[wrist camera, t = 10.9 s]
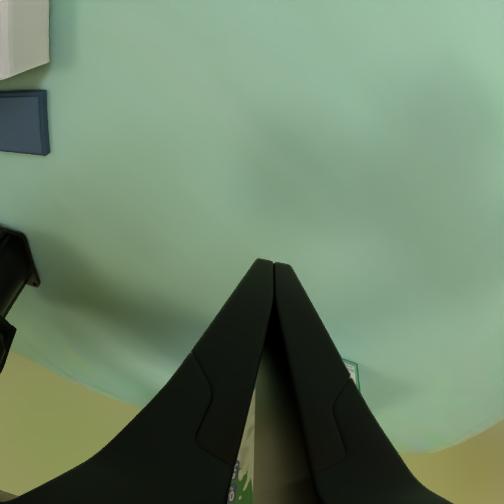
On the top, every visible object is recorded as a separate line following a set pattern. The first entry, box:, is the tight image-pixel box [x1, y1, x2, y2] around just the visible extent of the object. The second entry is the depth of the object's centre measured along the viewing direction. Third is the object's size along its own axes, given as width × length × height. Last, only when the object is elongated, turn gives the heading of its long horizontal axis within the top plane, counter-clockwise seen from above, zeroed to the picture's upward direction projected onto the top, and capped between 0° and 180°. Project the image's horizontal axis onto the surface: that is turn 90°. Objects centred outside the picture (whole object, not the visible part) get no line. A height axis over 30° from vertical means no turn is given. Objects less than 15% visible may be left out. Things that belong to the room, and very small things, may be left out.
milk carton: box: [227, 359, 360, 504], centre depth 22 cm, size 9×9×25 cm
